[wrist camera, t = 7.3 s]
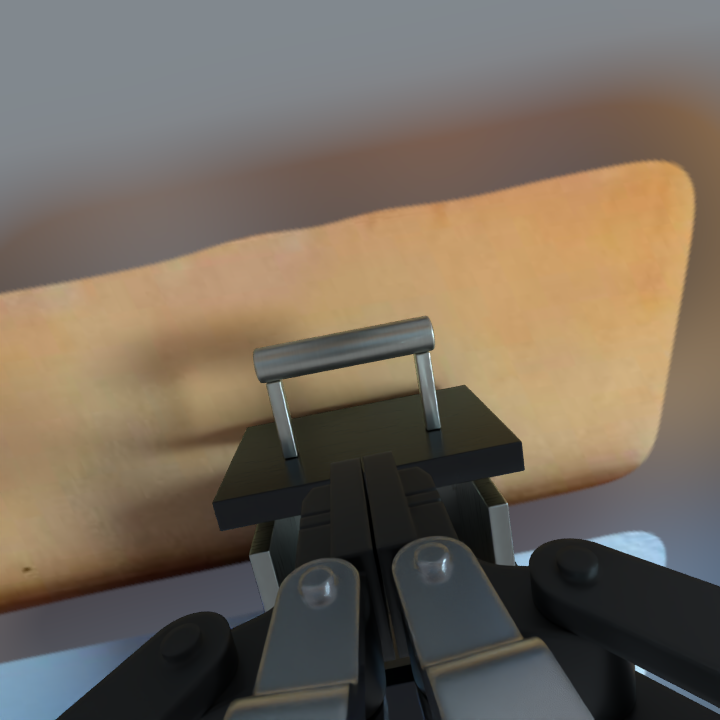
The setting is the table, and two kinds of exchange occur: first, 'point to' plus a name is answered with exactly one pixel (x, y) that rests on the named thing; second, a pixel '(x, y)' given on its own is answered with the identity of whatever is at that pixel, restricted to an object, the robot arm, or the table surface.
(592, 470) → the table surface
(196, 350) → the table surface
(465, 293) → the table surface
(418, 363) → the drawer
